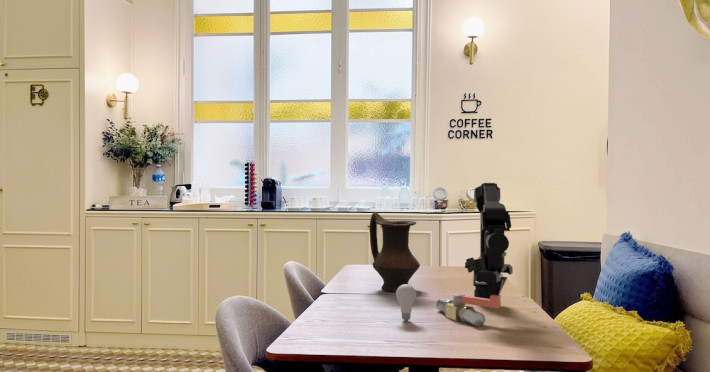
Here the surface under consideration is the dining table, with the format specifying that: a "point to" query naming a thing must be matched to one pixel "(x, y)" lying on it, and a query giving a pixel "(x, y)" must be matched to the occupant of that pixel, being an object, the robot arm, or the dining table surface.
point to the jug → (392, 252)
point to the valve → (460, 312)
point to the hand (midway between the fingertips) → (494, 301)
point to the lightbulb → (406, 300)
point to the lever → (478, 300)
